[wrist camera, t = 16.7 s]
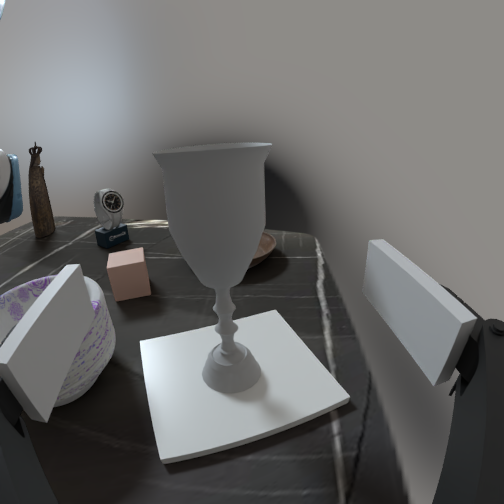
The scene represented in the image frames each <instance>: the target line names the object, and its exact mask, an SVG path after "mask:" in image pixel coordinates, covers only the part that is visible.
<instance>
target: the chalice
mask: <svg viewBox="0 0 504 504" xmlns="http://www.w3.org/2000/svg"><path fill="white" fill-rule="evenodd" d="M271 147H272V144H270V143H225V144H210V145H199V146H189V147H181V148H173V149H168V150H162V151H157V152H153V153H152V154H153V155H154V157H155V159H156V160H157V162H158V164H159V165H160V167H161V168H162V170H163V180H164V190H165V199H166V208H167V216H168V224H169V230H170V233H171V235H172V237H173V239H174V241H175V243H176V245H177V247H178V249H179V251H180V253H181V254H182V256H183V258H184V259H185V261H186V262H187V263H188V265H189V266H190V268H191V269H192V270H193V272H194V273H195V275H196V276H197V277H198V279H199V280H200V281H201V283H202V284H203V285H204V286H207V287H209V288H215V291H216V294H217V296H216V304H215V305H214V307H213V310H214V311H215V312H216V313H217V315H218V317H219V323H218V324H217V325H216V326H215V331H216V332H217V333H218V334H220V336H221V339H222V343H220V344H218V345H217V346H215V347H214V348H213V349H212V350H211V351H210V352H209V354H208V357H207V360H206V362H205V366H204V367H203V371H202V377H203V380H204V382H205V383H206V384H207V386H209V387H210V388H212V389H213V390H215V391H219V392H222V393H238V392H242V391H245V390H247V389H249V388H251V387H252V386H253V385H255V384H256V383H257V382H258V380H259V378H260V376H261V368H260V366H259V363H258V362H257V361H256V360H255V358H254V356H253V355H252V353H251V351H250V350H249V349H248V348H247V347H246V346H244V345H242V344H240V343H238V342H234V333H235V332H237V330H238V325H237V324H236V323H234V322H233V320H232V313H233V311H234V310H235V308H236V307H235V305H234V304H233V303H232V301H231V298H230V295H229V292H230V287H233V286H235V285H237V284H239V283H240V282H241V281H242V279H243V277H244V275H245V273H246V271H247V269H248V267H249V265H250V263H251V261H252V259H253V257H254V255H255V253H256V251H257V248H258V245H259V242H260V239H261V236H262V233H263V230H264V227H265V187H264V161H265V159H266V157H267V155H268V153H269V151H270V149H271Z"/></svg>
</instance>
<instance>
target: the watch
mask: <svg viewBox="0 0 504 504" xmlns="http://www.w3.org/2000/svg"><path fill="white" fill-rule="evenodd" d="M94 206H95V212H96V215H97V218H98V221H99V222H100V224H101V225H102V226H103V227H102V228H100V229H97V230H95V234H96V239H97V243H98V245H100V246H102V247H105V248H107V249H108V248H110V247H112V246H115V245H117V244H119V243H121V242H124V241H126V240H129V235H128V230H127V225H125V224H121V220H122V215H123V207H124V198H122V196H121V195H120V194H119V193H118V192H116V191H114V190H113V189H108V188H107V189H104V190H100V191H97V192H96V193H95V196H94ZM110 219H111V222H110V221H109V220H110Z"/></svg>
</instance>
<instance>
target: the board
mask: <svg viewBox="0 0 504 504" xmlns="http://www.w3.org/2000/svg"><path fill="white" fill-rule="evenodd" d="M233 322H234V323H236V324H237V325H238V330H237V332H235V333H234V342H238V343H240V344H242V345H244V346H246V347H247V348H248V349H249V350H250V351H251V353H252V355H253V356H254V358H255V360H256V361H257V362H258V363H259V366H260V368H261V376H260V378H259V380H258V382H257V383H256V384H255V385H253V386H252V387H251V388H249V389H247V390H245V391H242V392H238V393H222V392H219V391H215V390H213V389H212V388H210V387H209V386H207V384H206V383H205V382H204V380H203V377H202V371H203V367H204V366H205V362H206V360H207V357H208V354H209V352H210V351H211V350H212V349H213V348H214V347H215V346H217V345H218V344H220V343H222V339H221V336H220V334H218V333H217V332H216V331H215V326H216V325H213V326H209V327H204V328H200V329H196V330H191V331H187V332H182V333H178V334H173V335H168V336H163V337H159V338H154V339H149V340H144V341H140V347H141V356H142V363H143V371H144V378H145V384H146V390H147V397H148V402H149V408H150V413H151V419H152V424H153V429H154V433H155V438H156V443H157V447H158V451H159V456H160V460H161V461H162V463H163V464H167V463H173V462H178V461H182V460H187V459H192V458H196V457H200V456H204V455H208V454H212V453H216V452H220V451H223V450H227V449H230V448H234V447H237V446H240V445H244V444H247V443H250V442H253V441H256V440H259V439H262V438H265V437H268V436H270V435H273V434H276V433H279V432H281V431H284V430H287V429H289V428H292V427H294V426H297V425H299V424H302V423H304V422H307V421H309V420H311V419H314V418H316V417H318V416H321V415H323V414H325V413H327V412H329V411H332V410H334V409H336V408H338V407H340V406H342V405H344V404H346V403H348V402H349V399H350V396H349V395H348V394H347V392H346V391H345V390H344V389H343V388H342V387H341V386H340V384H339V383H338V382H337V381H336V380H335V379H334V378H333V376H332V375H331V374H330V373H329V372H328V371H327V369H326V368H325V367H324V366H323V365H322V364H321V362H320V361H319V360H318V359H317V358H316V357H315V355H314V354H313V353H312V352H311V351H310V350H309V348H308V347H307V346H306V345H305V344H304V343H303V341H302V340H301V339H300V338H299V337H298V336H297V334H296V333H295V332H294V331H293V330H292V328H291V327H290V326H289V325H288V324H287V323H286V321H285V320H284V319H283V318H282V317H281V315H280V314H279V313H278V312H277V311H276V310H272V311H269V312H265V313H261V314H257V315H253V316H250V317H246V318H242V319H238V320H234V321H233Z"/></svg>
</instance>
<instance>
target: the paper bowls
mask: <svg viewBox="0 0 504 504" xmlns="http://www.w3.org/2000/svg"><path fill="white" fill-rule="evenodd" d="M56 276H57V275H53V276H47V277H43V278H39V279H35V280H33V281H30V282H27V283H24V284H22V285H20V286H17V287H15V288H13V289H11V290H9V291H7V292H6V293H4V294H2V295H1V296H0V344H1V342H2V341H3V339H4V338H6V335H7V334H8V333H9V331H10V330H11V329H12V327H14V326H15V325H16V324H17V323H18V322H19V321H20V320H21V319H22V317H23V316H24V315H25V314H26V312H27V311H28V310H29V309H30V307H31V306H32V305H33V304H34V302H35V301H36V300H37V299H38V297H39V296H40V295H41V294H42V293H43V291H44V290H45V289H46V288H47V287H48V285H49V284H50V283H51V282H52V281H53V280H54V279H55V277H56ZM83 277H84V280H85V284H86V287H87V290H88V293H89V297H90V300H91V303H92V306H93V309H94V312H95V315H96V316H95V317H94V319H93V321H92V323H91V325H90V327H89V329H88V331H87V333H86V335H85V337H84V339H83V341H82V343H81V345H80V347H79V349H78V352H77V354H76V356H75V358H74V360H73V362H72V364H71V367H70V369H69V371H68V373H67V376H66V378H65V380H64V382H63V385H62V387H61V389H60V392H59V394H58V397H57V399H56V401H55V404H54V406H53V407H57V406H62V405H65V404H68V403H70V402H72V401H74V400H76V399H77V398H79V397H81V396H82V395H83V394H84V393H85V392H87V391H88V390H89V389H90V388H91V386H92V385H93V384H94V382H95V381H96V379H97V378H98V376H99V374H100V373H101V372H102V370H103V369H104V367H105V366H106V365H107V363H108V362H109V360H110V359H111V357H112V355H113V352H114V349H115V343H116V335H115V330H114V327H113V324H112V321H111V318H110V315H109V311H108V309H107V305H106V302H105V298H104V294H103V291H102V289H101V288H100V286H99V285H98V284H97V283H96V282H95V281H93V280H92V279H90V278H88V277H85V276H83Z"/></svg>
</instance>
